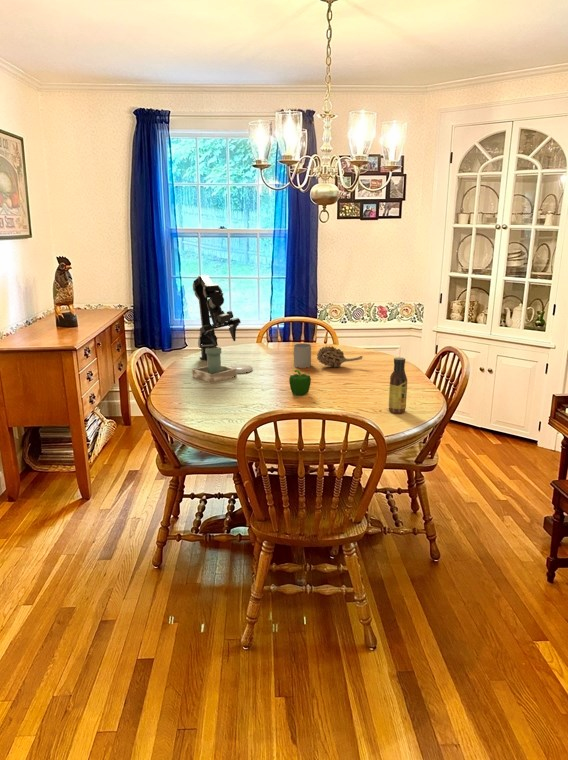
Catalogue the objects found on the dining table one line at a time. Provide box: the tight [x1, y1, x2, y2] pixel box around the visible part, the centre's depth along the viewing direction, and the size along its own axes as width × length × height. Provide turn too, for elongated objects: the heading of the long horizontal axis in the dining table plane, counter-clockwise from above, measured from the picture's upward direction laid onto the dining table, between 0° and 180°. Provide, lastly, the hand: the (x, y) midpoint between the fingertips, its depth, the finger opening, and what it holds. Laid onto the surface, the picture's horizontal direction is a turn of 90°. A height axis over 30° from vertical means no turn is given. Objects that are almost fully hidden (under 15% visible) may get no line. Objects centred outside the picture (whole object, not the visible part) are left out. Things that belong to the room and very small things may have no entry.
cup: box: [293, 343, 312, 369], centre depth 269 cm, size 8×8×10 cm
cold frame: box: [191, 364, 238, 384], centre depth 252 cm, size 14×14×4 cm
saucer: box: [228, 364, 254, 374], centre depth 263 cm, size 12×12×1 cm
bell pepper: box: [288, 369, 312, 397], centre depth 225 cm, size 8×8×10 cm
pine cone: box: [316, 345, 364, 368], centre depth 265 cm, size 22×10×10 cm, turn 85°
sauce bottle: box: [388, 356, 408, 414], centre depth 203 cm, size 7×6×20 cm
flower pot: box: [205, 346, 222, 374], centre depth 251 cm, size 7×7×13 cm
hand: (226, 343), depth 258 cm, fingers open, 9 cm apart
